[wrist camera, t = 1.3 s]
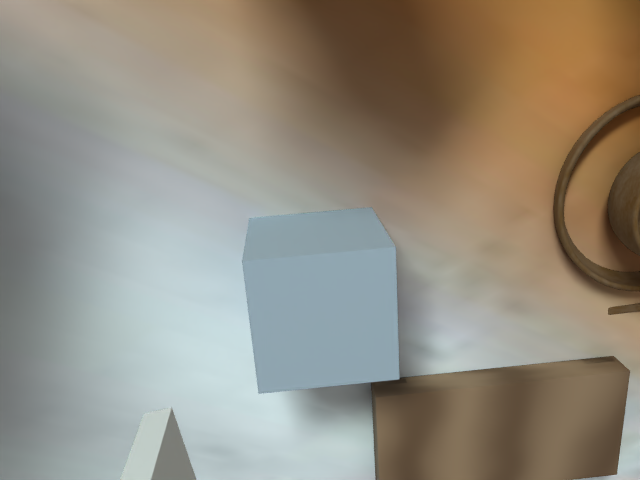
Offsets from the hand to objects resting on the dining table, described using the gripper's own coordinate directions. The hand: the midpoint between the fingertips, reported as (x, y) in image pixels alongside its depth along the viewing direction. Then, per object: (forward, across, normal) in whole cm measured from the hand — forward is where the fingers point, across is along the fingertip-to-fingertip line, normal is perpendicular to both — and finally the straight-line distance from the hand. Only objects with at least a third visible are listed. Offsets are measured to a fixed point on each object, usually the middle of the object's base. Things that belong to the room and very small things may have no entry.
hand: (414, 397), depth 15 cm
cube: (+18, -2, -3) cm, 18 cm away
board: (+17, +7, -16) cm, 25 cm away
